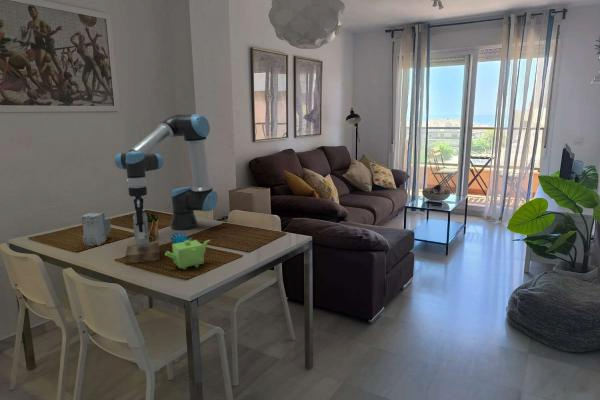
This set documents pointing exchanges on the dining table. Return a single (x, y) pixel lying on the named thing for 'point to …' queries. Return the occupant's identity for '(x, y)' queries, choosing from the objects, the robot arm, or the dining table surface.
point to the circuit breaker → (95, 228)
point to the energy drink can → (144, 241)
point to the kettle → (188, 253)
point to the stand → (142, 253)
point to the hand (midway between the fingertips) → (141, 236)
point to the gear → (179, 238)
